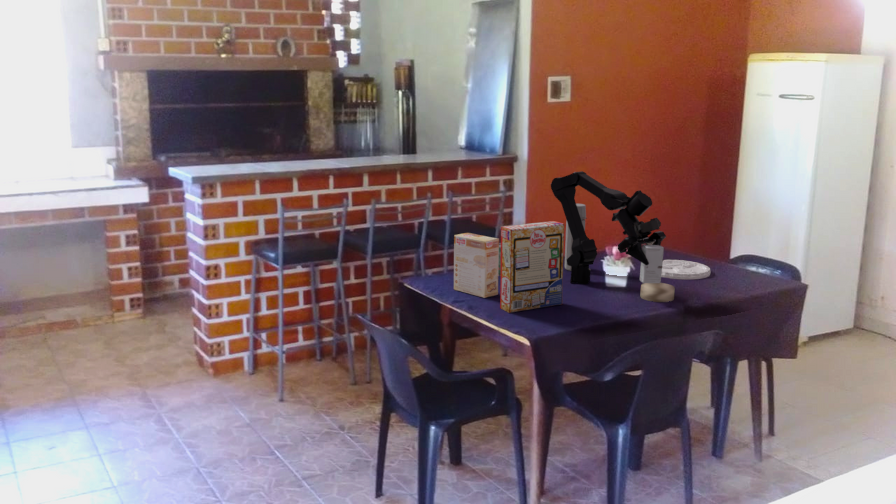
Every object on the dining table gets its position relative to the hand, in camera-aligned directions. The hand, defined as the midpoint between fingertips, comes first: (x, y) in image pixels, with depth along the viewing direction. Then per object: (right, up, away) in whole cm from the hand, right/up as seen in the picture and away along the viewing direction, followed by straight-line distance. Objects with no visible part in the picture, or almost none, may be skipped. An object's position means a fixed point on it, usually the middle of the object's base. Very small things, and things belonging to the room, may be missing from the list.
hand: (655, 263), depth 264 cm
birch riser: (+3, -12, +8) cm, 15 cm away
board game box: (-41, -14, -3) cm, 43 cm away
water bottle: (-19, -3, +47) cm, 50 cm away
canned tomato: (-46, -5, +38) cm, 60 cm away
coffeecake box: (-58, -10, +13) cm, 61 cm away
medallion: (+19, -4, +45) cm, 49 cm away
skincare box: (-1, -6, +3) cm, 7 cm away
